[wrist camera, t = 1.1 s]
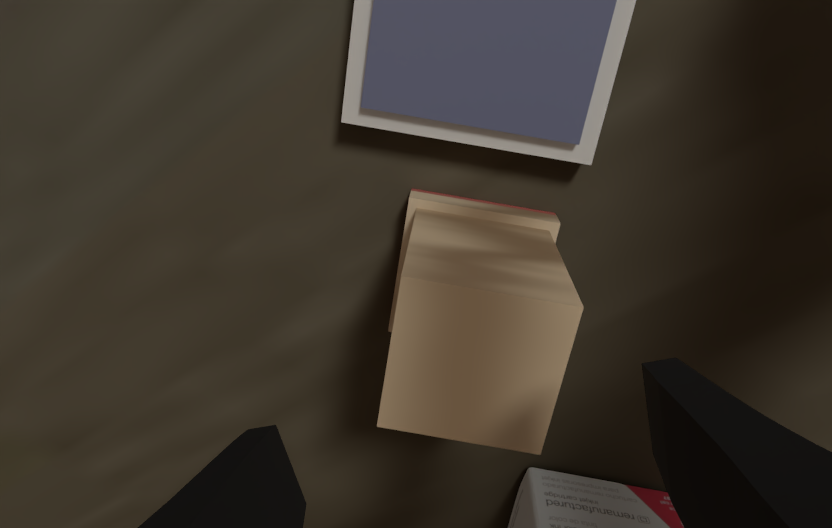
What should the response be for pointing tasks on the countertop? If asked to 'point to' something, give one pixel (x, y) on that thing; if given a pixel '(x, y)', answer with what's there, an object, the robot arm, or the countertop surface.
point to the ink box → (588, 503)
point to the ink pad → (487, 71)
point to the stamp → (478, 323)
